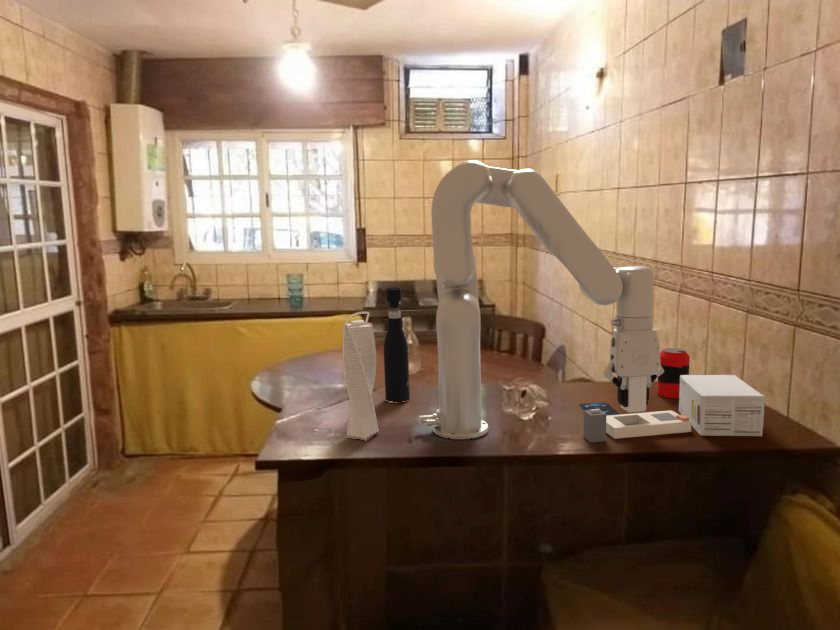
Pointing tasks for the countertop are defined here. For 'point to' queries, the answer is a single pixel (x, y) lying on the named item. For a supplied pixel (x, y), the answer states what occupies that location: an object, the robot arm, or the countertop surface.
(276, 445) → the countertop surface
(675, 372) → the soda can
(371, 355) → the skyscraper
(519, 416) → the countertop surface
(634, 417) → the power strip
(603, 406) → the smartphone
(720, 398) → the supplement box
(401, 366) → the wine bottle
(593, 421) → the cable plug
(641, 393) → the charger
